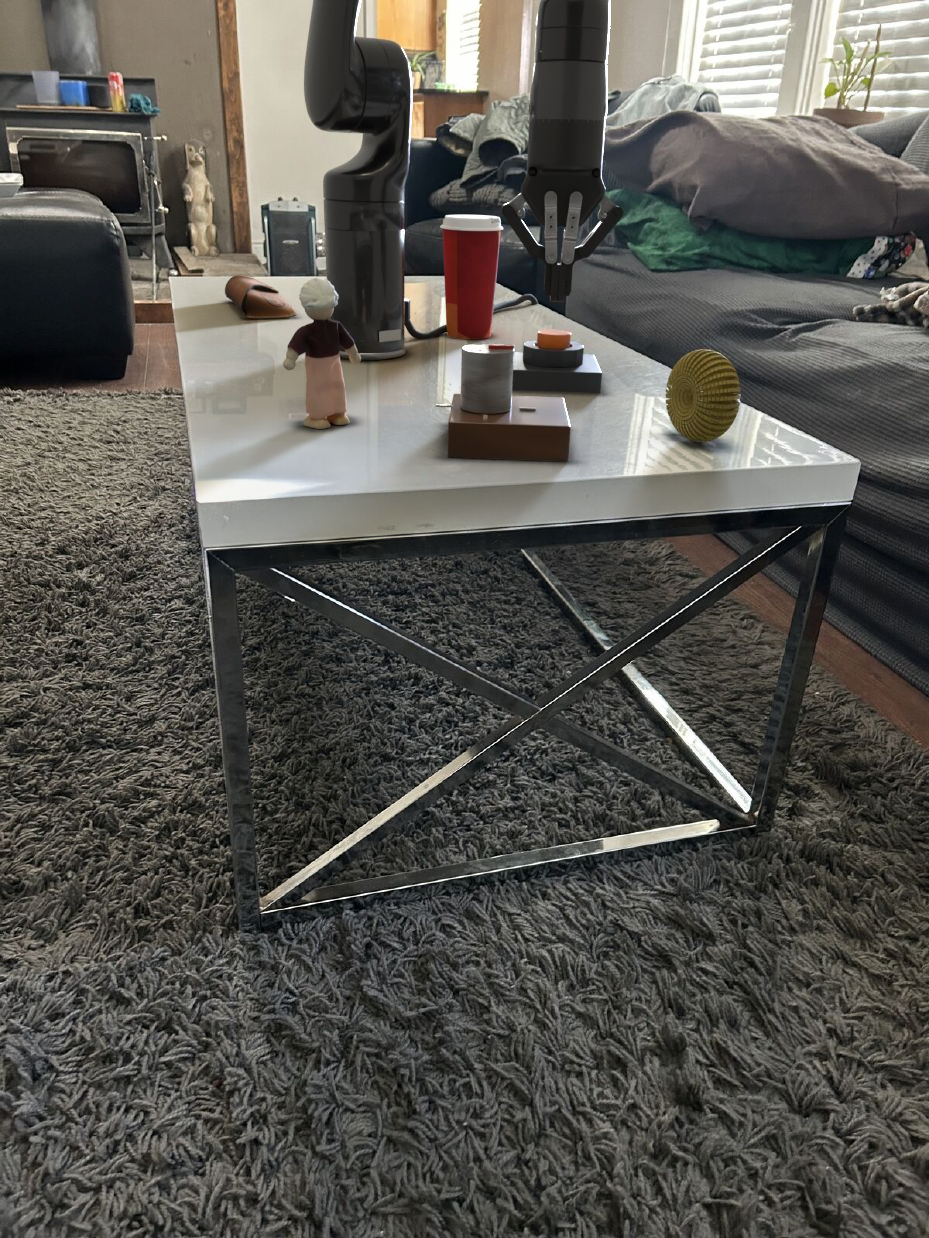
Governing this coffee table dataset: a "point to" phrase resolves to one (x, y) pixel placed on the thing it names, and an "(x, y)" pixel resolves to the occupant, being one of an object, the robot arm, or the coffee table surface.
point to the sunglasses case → (257, 299)
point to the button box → (556, 369)
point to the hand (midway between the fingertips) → (556, 300)
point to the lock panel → (511, 431)
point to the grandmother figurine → (322, 355)
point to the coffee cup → (470, 273)
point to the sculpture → (702, 395)
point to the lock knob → (487, 378)
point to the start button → (553, 339)
